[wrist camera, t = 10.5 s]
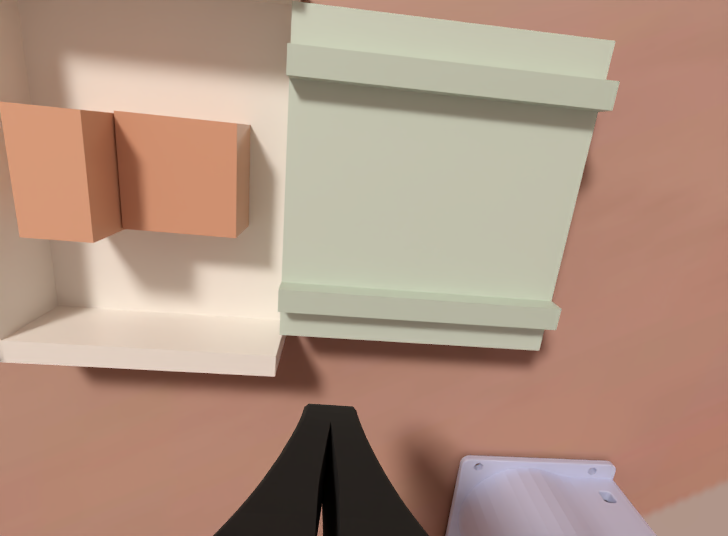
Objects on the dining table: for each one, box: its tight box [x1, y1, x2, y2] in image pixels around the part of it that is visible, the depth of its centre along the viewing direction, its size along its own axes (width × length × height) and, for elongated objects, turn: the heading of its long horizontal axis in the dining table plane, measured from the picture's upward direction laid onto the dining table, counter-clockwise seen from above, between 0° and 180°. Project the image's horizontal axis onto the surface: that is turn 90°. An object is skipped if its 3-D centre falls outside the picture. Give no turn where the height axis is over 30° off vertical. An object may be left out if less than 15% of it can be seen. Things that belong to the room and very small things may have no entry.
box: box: [0, 0, 301, 377], centre depth 17 cm, size 12×16×4 cm
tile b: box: [0, 102, 125, 243], centre depth 16 cm, size 4×4×2 cm
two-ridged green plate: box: [278, 1, 620, 351], centre depth 18 cm, size 12×13×4 cm
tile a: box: [114, 111, 251, 238], centre depth 18 cm, size 4×4×2 cm
